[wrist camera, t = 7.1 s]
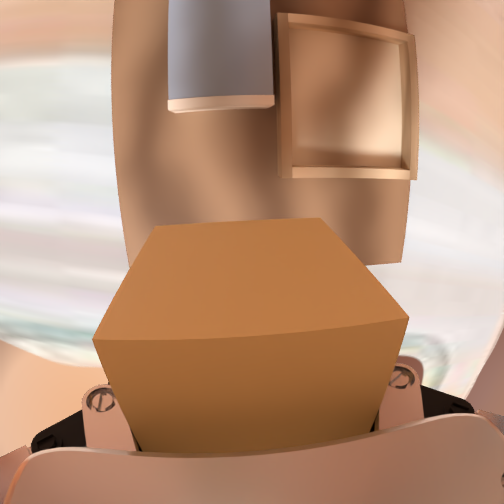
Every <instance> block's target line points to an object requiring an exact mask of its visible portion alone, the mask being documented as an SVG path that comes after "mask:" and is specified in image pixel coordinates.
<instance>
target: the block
mask: <svg viewBox="0 0 504 504" xmlns="http://www.w3.org/2000/svg"><path fill="white" fill-rule="evenodd" d="M408 320H409V316H408V315H407V314H406V313H405V311H404V310H403V309H402V308H401V307H400V305H399V304H398V303H397V302H396V301H395V300H394V298H393V297H392V296H391V295H390V294H389V293H388V291H387V290H386V289H385V288H384V287H383V286H382V285H381V283H380V282H379V281H378V280H377V279H376V278H375V277H374V275H373V274H372V273H371V272H370V271H369V270H368V269H367V268H366V266H365V265H364V264H363V263H362V262H361V261H360V260H359V259H358V258H357V256H356V255H355V254H354V253H353V252H352V251H351V250H350V249H349V248H348V247H347V246H346V244H345V243H344V242H343V241H342V240H341V239H340V238H339V237H338V236H337V235H336V234H335V233H334V232H333V231H332V229H331V228H330V227H329V226H328V225H327V224H326V223H325V222H324V221H323V220H322V219H321V218H294V219H269V220H248V221H228V222H210V223H193V224H178V225H163V226H155V227H154V229H153V230H152V232H151V234H150V235H149V237H148V239H147V240H146V242H145V244H144V245H143V247H142V249H141V250H140V252H139V254H138V255H137V257H136V259H135V261H134V262H133V264H132V266H131V267H130V269H129V271H128V273H127V274H126V276H125V278H124V280H123V282H122V283H121V285H120V287H119V289H118V291H117V292H116V294H115V296H114V298H113V300H112V302H111V304H110V305H109V307H108V309H107V311H106V313H105V315H104V317H103V319H102V321H101V323H100V325H99V327H98V328H97V330H96V332H95V334H94V336H93V338H92V340H93V343H94V346H95V349H96V351H97V354H98V356H99V359H100V362H101V364H102V367H103V369H104V372H105V374H106V376H107V378H108V381H109V383H110V386H111V388H112V390H113V393H114V395H115V397H116V399H117V401H118V404H119V406H120V408H121V410H122V412H123V414H124V416H125V418H126V420H127V422H128V424H129V426H130V428H131V430H132V432H133V434H134V436H135V438H136V440H137V442H138V444H139V445H140V447H141V449H142V451H143V452H159V453H227V452H245V451H258V450H269V449H278V448H287V447H294V446H301V445H308V444H315V443H321V442H327V441H332V440H337V439H343V438H347V437H352V436H357V435H361V434H366V433H369V432H370V430H371V427H372V425H373V423H374V420H375V418H376V415H377V413H378V410H379V408H380V405H381V403H382V400H383V397H384V395H385V392H386V389H387V387H388V384H389V381H390V378H391V375H392V373H393V370H394V367H395V364H396V360H397V357H398V354H399V351H400V348H401V345H402V341H403V338H404V335H405V331H406V328H407V324H408Z"/></svg>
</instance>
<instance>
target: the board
mask: <svg viewBox="0 0 504 504" xmlns="http://www.w3.org/2000/svg"><path fill="white" fill-rule="evenodd" d="M111 91H112V122H113V140H114V154H115V166H116V176H117V186H118V195H119V203H120V211H121V218H122V225H123V232H124V238H125V245H126V251H127V256H128V262H129V268H130V267H131V266H132V264H133V262H134V261H135V259H136V257H137V255H138V254H139V252H140V250H141V249H142V247H143V245H144V244H145V242H146V240H147V239H148V237H149V235H150V234H151V232H152V230H153V229H154V227H155V226H163V225H178V224H193V223H210V222H228V221H248V220H269V219H294V218H321V219H322V220H323V221H324V222H325V223H326V224H327V225H328V226H329V227H330V228H331V229H332V231H333V232H334V233H335V234H336V235H337V236H338V237H339V238H340V239H341V240H342V241H343V242H344V243H345V244H346V246H347V247H348V248H349V249H350V250H351V251H352V252H353V253H354V254H355V255H356V256H357V258H358V259H359V260H360V261H361V262H362V263H363V264H364V265H377V264H388V263H399V262H401V260H402V253H403V246H404V239H405V231H406V222H407V213H408V203H409V191H410V180H417V170H418V148H419V93H418V72H417V58H416V46H415V37H414V35H411V34H408V32H407V23H406V16H405V9H404V2H403V0H115V2H114V15H113V31H112V61H111Z"/></svg>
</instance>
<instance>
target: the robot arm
mask: <svg viewBox="0 0 504 504" xmlns="http://www.w3.org/2000/svg"><path fill="white" fill-rule="evenodd" d="M0 504H504V416H501V415H497V414H493V413H490V412H486V411H483V410H480V409H479V410H478V411H477V412H475V411H474V409H473V407H472V406H471V404H470V403H468V402H467V401H466V400H463V399H461V398H458V397H455V396H452V395H449V394H446V393H443V392H440V391H437V390H434V389H431V388H428V387H425V386H422V385H420V382H419V377H418V374H417V373H416V371H415V370H414V369H413V368H411V367H410V366H407V365H405V364H399V363H396V364H395V367H394V370H393V373H392V375H391V378H390V381H389V384H388V387H387V389H386V392H385V395H384V397H383V400H382V403H381V405H380V408H379V410H378V413H377V415H376V418H375V420H374V423H373V425H372V427H371V430H370V432H369V433H366V434H361V435H357V436H352V437H347V438H343V439H337V440H332V441H327V442H321V443H315V444H308V445H301V446H294V447H287V448H278V449H269V450H258V451H245V452H227V453H159V452H143V451H142V449H141V447H140V445H139V444H138V442H137V440H136V438H135V436H134V434H133V432H132V430H131V428H130V426H129V424H128V422H127V420H126V418H125V416H124V414H123V412H122V410H121V408H120V406H119V404H118V401H117V399H116V397H115V395H114V393H113V390H112V388H111V386H110V383H109V382H108V384H103V385H98V386H95V387H93V388H91V389H89V390H88V391H87V392H86V393H85V394H84V396H83V398H82V410H80V411H78V412H77V413H75V414H73V415H71V416H69V417H67V418H65V419H64V420H62V421H60V422H58V423H56V424H54V425H52V426H50V427H48V428H47V429H45V430H43V431H41V432H40V433H38V434H37V435H36V436H35V437H34V438H33V441H32V443H31V447H29V448H27V447H26V446H23V447H21V448H19V449H16V450H14V451H12V452H10V453H8V454H6V455H4V456H2V457H0Z"/></svg>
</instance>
